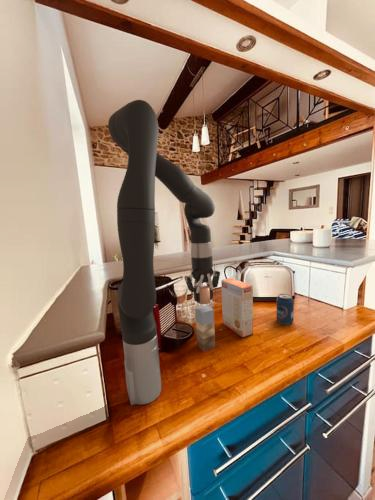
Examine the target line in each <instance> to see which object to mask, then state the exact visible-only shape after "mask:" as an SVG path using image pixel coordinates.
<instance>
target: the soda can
mask: <svg viewBox="0 0 375 500" xmlns="http://www.w3.org/2000/svg"><path fill="white" fill-rule="evenodd" d="M294 306H295V301H294V299H293V296H292V295H291V294H288V293H279V294H278V295H277V297H276V320H277V321H278V323H279V324H282V325H291V324H292V323H294V318H295V317H294V312H295V311H294V310H295V309H294V308H295V307H294Z"/></svg>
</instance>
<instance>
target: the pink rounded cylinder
mask: <svg viewBox="0 0 375 500" xmlns="http://www.w3.org/2000/svg"><path fill="white" fill-rule="evenodd" d="M199 293H200V303H198V304H199V305H209V304H210V303H211V300H210V287H209V286H207V285H201V287H200V290H199Z"/></svg>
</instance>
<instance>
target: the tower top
mask: <svg viewBox="0 0 375 500" xmlns="http://www.w3.org/2000/svg"><path fill="white" fill-rule="evenodd" d="M194 310H195V322H196V321H197V322H198V323H199V324H201V325H202V326H204V325H207V324H211V323H214V324H215V312H214V311H215V309H214V308H213V307H211V306H209V305H208V304H204V305H201V306H197V307H195V309H194Z"/></svg>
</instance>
